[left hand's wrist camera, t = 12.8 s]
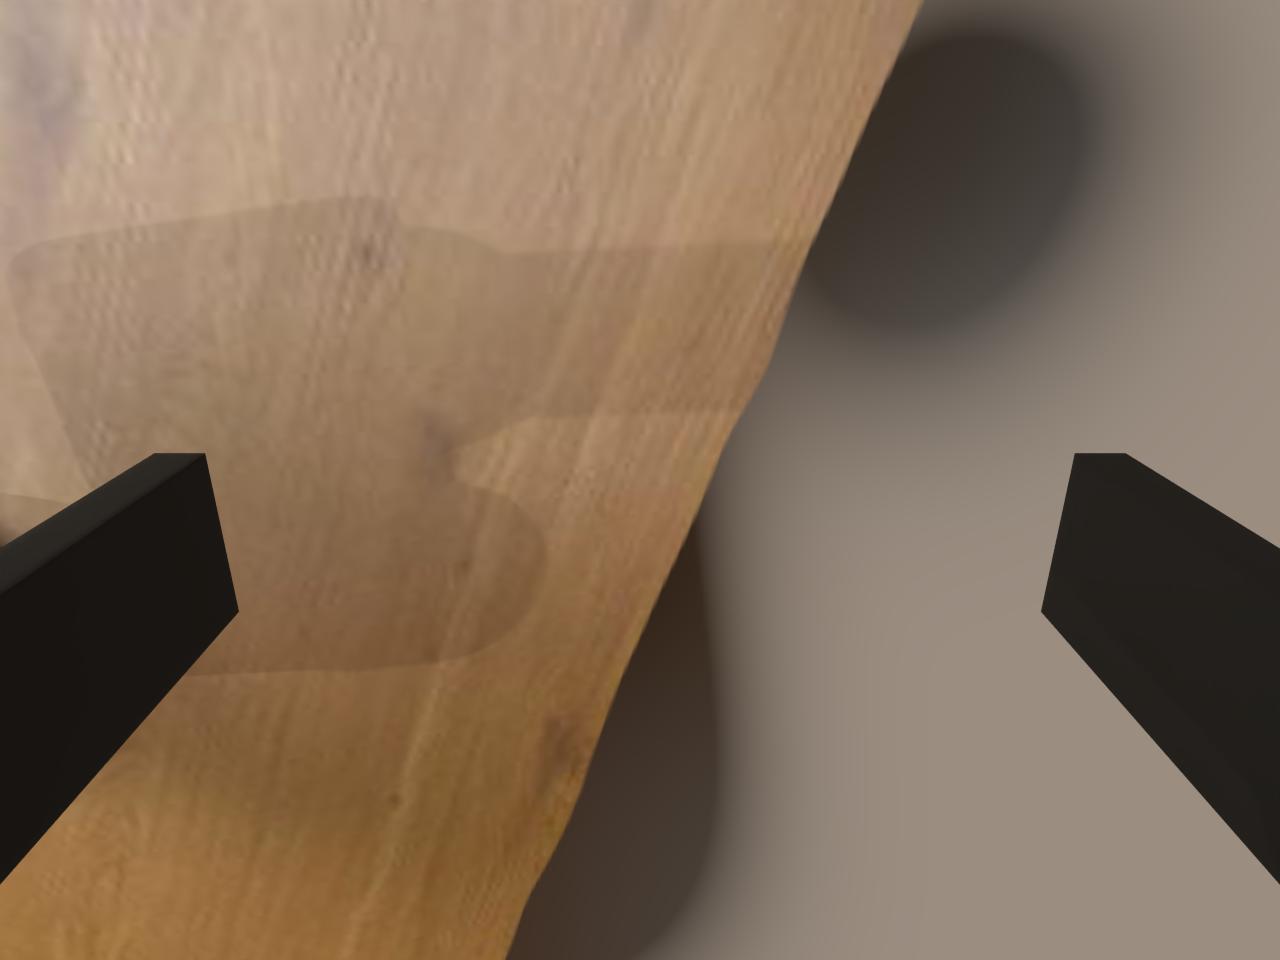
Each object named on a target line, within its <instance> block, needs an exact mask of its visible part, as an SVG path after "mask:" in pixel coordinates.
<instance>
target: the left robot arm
mask: <svg viewBox="0 0 1280 960" xmlns="http://www.w3.org/2000/svg"><path fill="white" fill-rule="evenodd" d="M238 612H239V610H238V605H237V600H236V595H235V591H234V586H233V581H232V577H231V572H230V567H229V563H228V558H227V553H226V549H225V544H224V539H223V535H222V530H221V525H220V521H219V516H218V511H217V507H216V502H215V497H214V493H213V488H212V483H211V479H210V474H209V469H208V464H207V460H206V455H205V453H154V454H152V455H151V456H149V457H148V458H146V459H144V460H143V461H141V462H140V463H138V464H136V465H135V466H133V467H131V468H130V469H128V470H127V471H125V472H123V473H122V474H120V475H118V476H117V477H115V478H114V479H112V480H110V481H109V482H107V483H105V484H104V485H102V486H101V487H99V488H97V489H96V490H94V491H93V492H91V493H89V494H88V495H86V496H84V497H83V498H81V499H80V500H78V501H76V502H75V503H73V504H71V505H70V506H68V507H67V508H65V509H63V510H62V511H60V512H59V513H57V514H55V515H54V516H52V517H50V518H49V519H47V520H46V521H44V522H42V523H41V524H39V525H37V526H36V527H34V528H33V529H31V530H29V531H28V532H26V533H25V534H23V535H21V536H20V537H18V538H16V539H15V540H13V541H12V542H10V543H8V544H7V545H5V546H3V547H2V548H0V884H1V883H2V882H3V881H4V880H5V878H6V877H7V876H8V875H9V874H10V873H11V872H12V870H13V869H14V868H15V867H16V866H17V865H18V864H19V862H20V861H21V860H22V859H23V858H24V857H25V856H26V854H27V853H28V852H29V851H30V850H31V849H32V848H33V846H34V845H35V844H36V843H37V842H38V841H39V840H40V838H41V837H42V836H43V835H44V834H45V833H46V832H47V830H48V829H49V828H50V827H51V826H52V825H53V824H54V822H55V821H56V820H57V819H58V818H59V817H60V816H61V814H62V813H63V812H64V811H65V810H66V809H67V808H68V806H69V805H70V804H71V803H72V802H73V801H74V800H75V798H76V797H77V796H78V795H79V794H80V793H81V792H82V790H83V789H84V788H85V787H86V786H87V785H88V784H89V782H90V781H91V780H92V779H93V778H94V777H95V776H96V774H97V773H98V772H99V771H100V770H101V769H102V768H103V766H104V765H105V764H106V763H107V762H108V761H109V760H110V758H111V757H112V756H113V755H114V754H115V753H116V752H117V750H118V749H119V748H120V747H121V746H122V745H123V744H124V742H125V741H126V740H127V739H128V738H129V737H130V736H131V734H132V733H133V732H134V731H135V730H136V729H137V728H138V726H139V725H140V724H141V723H142V722H143V721H144V720H145V718H146V717H147V716H148V715H149V714H150V713H151V712H152V710H153V709H154V708H155V707H156V706H157V705H158V704H159V702H160V701H161V700H162V699H163V698H164V697H165V696H166V694H167V693H168V692H169V691H170V690H171V689H172V688H173V686H174V685H175V684H176V683H177V682H178V681H179V680H180V678H181V677H182V676H183V675H184V674H185V673H186V672H187V670H188V669H189V668H190V667H191V666H192V665H193V664H194V662H195V661H196V660H197V659H198V658H199V657H200V656H201V654H202V653H203V652H204V651H205V650H206V649H207V648H208V646H209V645H210V644H211V643H212V642H213V641H214V640H215V638H216V637H217V636H218V635H219V634H220V633H221V632H222V630H223V629H224V628H225V627H226V626H227V625H228V624H229V622H230V621H231V620H232V619H233V618H234V617H235V616H236V614H237V613H238ZM1041 612H1042V613H1043V614H1044V615H1045V617H1046V618H1047V619H1048V620H1049V621H1050V622H1051V624H1052V625H1053V626H1054V627H1055V628H1056V629H1057V630H1058V632H1059V633H1060V634H1061V635H1062V636H1063V637H1064V638H1065V640H1066V641H1067V642H1068V643H1069V644H1070V645H1071V646H1072V648H1073V649H1074V650H1075V651H1076V652H1077V653H1078V654H1079V656H1080V657H1081V658H1082V659H1083V660H1084V661H1085V662H1086V664H1087V665H1088V666H1089V667H1090V668H1091V669H1092V670H1093V672H1094V673H1095V674H1096V675H1097V676H1098V677H1099V678H1100V680H1101V681H1102V682H1103V683H1104V684H1105V685H1106V686H1107V688H1108V689H1109V690H1110V691H1111V692H1112V693H1113V694H1114V696H1115V697H1116V698H1117V699H1118V700H1119V701H1120V702H1121V704H1122V705H1123V706H1124V707H1125V708H1126V709H1127V710H1128V712H1129V713H1130V714H1131V715H1132V716H1133V717H1134V718H1135V720H1136V721H1137V722H1138V723H1139V724H1140V725H1141V726H1142V728H1143V729H1144V730H1145V731H1146V732H1147V733H1148V734H1149V736H1150V737H1151V738H1152V739H1153V740H1154V741H1155V742H1156V744H1157V745H1158V746H1159V747H1160V748H1161V749H1162V750H1163V752H1164V753H1165V754H1166V755H1167V756H1168V757H1169V758H1170V759H1171V761H1172V762H1173V763H1174V764H1175V765H1176V766H1177V768H1178V769H1179V770H1180V771H1181V772H1182V773H1183V774H1184V776H1185V777H1186V778H1187V779H1188V780H1189V781H1190V782H1191V784H1192V785H1193V786H1194V787H1195V788H1196V789H1197V790H1198V792H1199V793H1200V794H1201V795H1202V796H1203V797H1204V798H1205V800H1206V801H1207V802H1208V803H1209V804H1210V805H1211V806H1212V808H1213V809H1214V810H1215V811H1216V812H1217V813H1218V814H1219V816H1220V817H1221V818H1222V819H1223V820H1224V821H1225V822H1226V824H1227V825H1228V826H1229V827H1230V828H1231V829H1232V830H1233V832H1234V833H1235V834H1236V835H1237V836H1238V837H1239V838H1240V840H1241V841H1242V842H1243V843H1244V844H1245V845H1246V846H1247V848H1248V849H1249V850H1250V851H1251V852H1252V853H1253V854H1254V856H1255V857H1256V858H1257V859H1258V860H1259V861H1260V862H1261V864H1262V865H1263V866H1264V867H1265V868H1266V869H1267V870H1268V872H1269V873H1270V874H1271V875H1272V876H1273V877H1274V878H1275V880H1276V881H1277V882H1278V883H1279V884H1280V548H1278V547H1277V546H1275V545H1273V544H1272V543H1270V542H1268V541H1267V540H1265V539H1264V538H1262V537H1260V536H1259V535H1257V534H1255V533H1254V532H1252V531H1251V530H1249V529H1247V528H1246V527H1244V526H1243V525H1241V524H1239V523H1238V522H1236V521H1234V520H1233V519H1231V518H1230V517H1228V516H1226V515H1225V514H1223V513H1221V512H1220V511H1218V510H1217V509H1215V508H1213V507H1212V506H1210V505H1208V504H1207V503H1205V502H1204V501H1202V500H1200V499H1199V498H1197V497H1196V496H1194V495H1192V494H1191V493H1189V492H1187V491H1186V490H1184V489H1183V488H1181V487H1179V486H1178V485H1176V484H1175V483H1173V482H1171V481H1170V480H1168V479H1166V478H1165V477H1163V476H1162V475H1160V474H1158V473H1157V472H1155V471H1153V470H1152V469H1150V468H1149V467H1147V466H1145V465H1144V464H1142V463H1140V462H1139V461H1137V460H1136V459H1134V458H1132V457H1131V456H1129V455H1128V454H1126V453H1075V455H1074V460H1073V465H1072V469H1071V474H1070V479H1069V483H1068V488H1067V493H1066V497H1065V502H1064V507H1063V511H1062V516H1061V521H1060V525H1059V530H1058V535H1057V539H1056V544H1055V549H1054V553H1053V558H1052V563H1051V567H1050V572H1049V577H1048V581H1047V586H1046V591H1045V595H1044V600H1043V605H1042V610H1041Z"/></svg>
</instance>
